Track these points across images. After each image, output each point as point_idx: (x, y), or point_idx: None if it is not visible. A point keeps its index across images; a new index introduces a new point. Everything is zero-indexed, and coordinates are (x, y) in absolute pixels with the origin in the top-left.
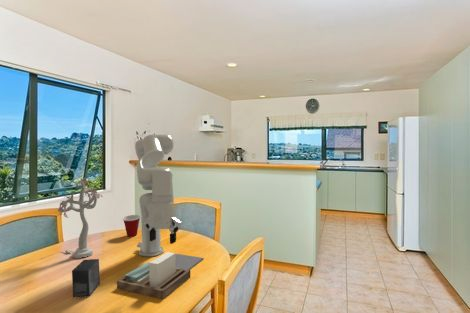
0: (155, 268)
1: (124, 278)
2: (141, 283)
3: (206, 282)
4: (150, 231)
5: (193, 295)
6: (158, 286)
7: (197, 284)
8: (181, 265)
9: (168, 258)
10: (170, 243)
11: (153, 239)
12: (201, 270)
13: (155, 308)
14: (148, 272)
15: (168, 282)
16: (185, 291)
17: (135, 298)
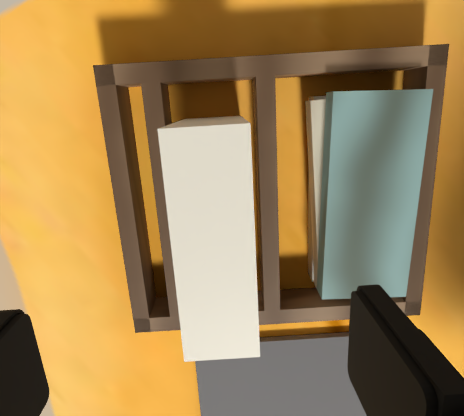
0: (186, 124)
1: None
2: (306, 122)
3: (37, 297)
4: (458, 405)
5: (2, 168)
6: (159, 100)
7: (61, 264)
8: (256, 382)
9: (176, 272)
10: (15, 310)
11: (353, 334)
12: (140, 383)
13: None
14: (323, 202)
15: (153, 176)
16: (65, 183)
17: (249, 8)
